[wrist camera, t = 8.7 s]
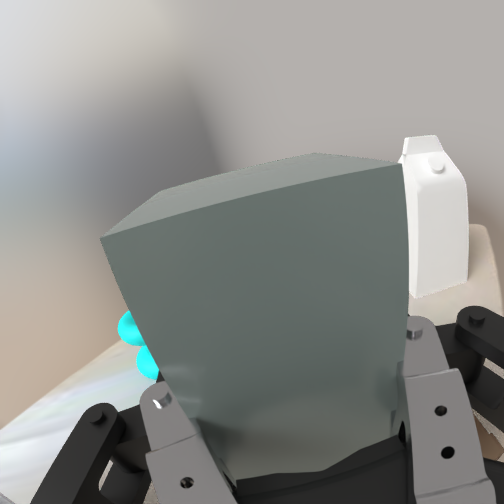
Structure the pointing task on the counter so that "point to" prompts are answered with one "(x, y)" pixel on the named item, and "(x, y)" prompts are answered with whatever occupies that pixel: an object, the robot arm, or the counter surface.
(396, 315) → the soapstone block
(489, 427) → the counter surface
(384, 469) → the robot arm
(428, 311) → the counter surface
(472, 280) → the counter surface
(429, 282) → the milk
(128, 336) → the donuts
